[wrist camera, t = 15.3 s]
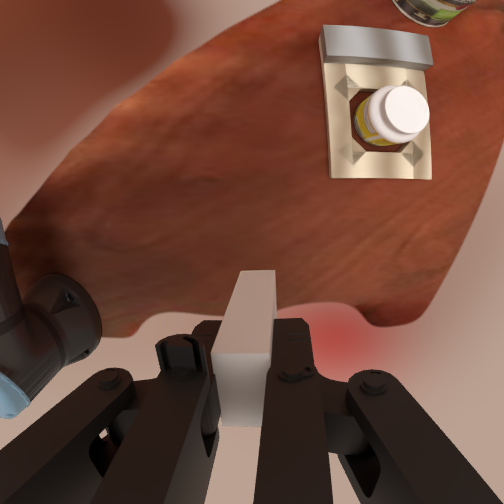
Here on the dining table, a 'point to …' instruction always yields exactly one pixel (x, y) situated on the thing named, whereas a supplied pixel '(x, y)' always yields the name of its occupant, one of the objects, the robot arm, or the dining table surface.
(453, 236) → the dining table surface
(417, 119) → the pill bottle
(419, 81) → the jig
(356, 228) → the dining table surface
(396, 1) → the coffee can
